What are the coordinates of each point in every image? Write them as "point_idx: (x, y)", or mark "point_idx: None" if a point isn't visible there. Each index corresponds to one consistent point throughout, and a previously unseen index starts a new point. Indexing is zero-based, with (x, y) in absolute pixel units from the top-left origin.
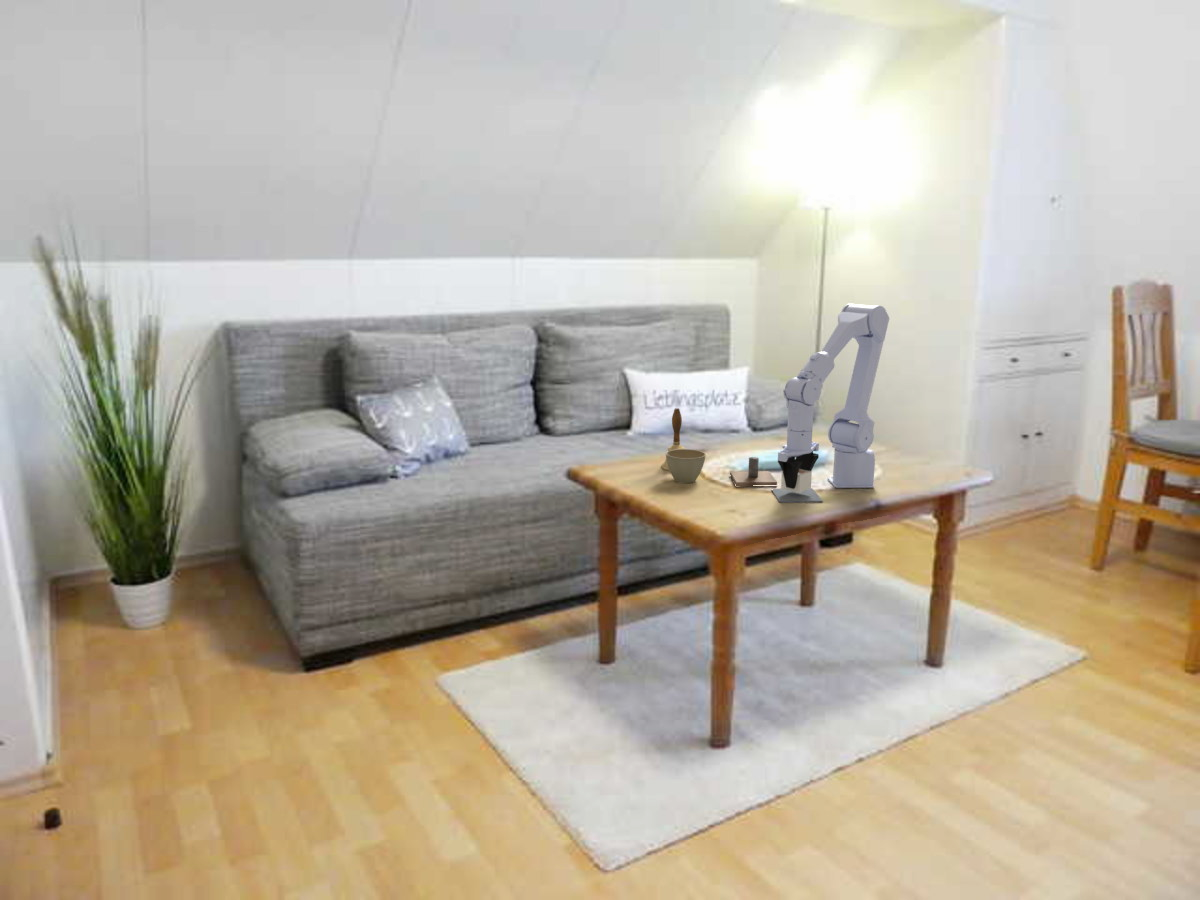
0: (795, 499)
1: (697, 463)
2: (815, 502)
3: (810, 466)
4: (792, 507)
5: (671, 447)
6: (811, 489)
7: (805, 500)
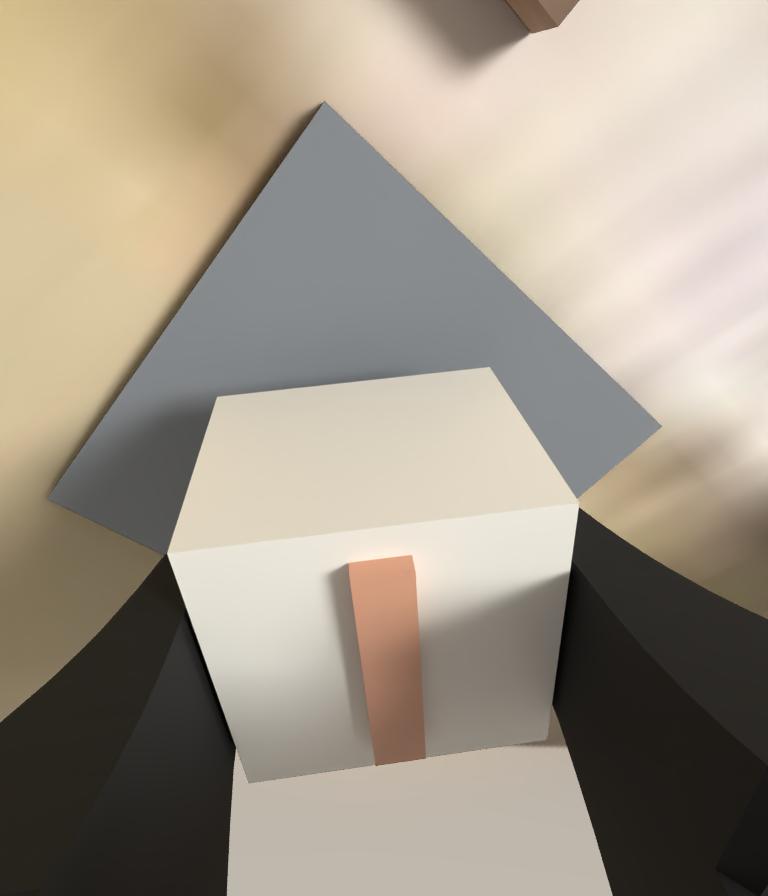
0: None
1: None
2: None
3: (581, 790)
4: (76, 613)
5: None
6: (621, 443)
7: None
